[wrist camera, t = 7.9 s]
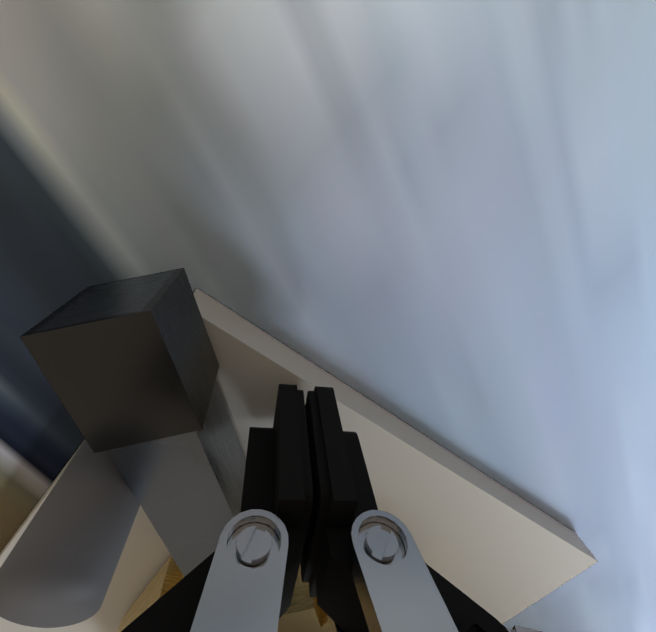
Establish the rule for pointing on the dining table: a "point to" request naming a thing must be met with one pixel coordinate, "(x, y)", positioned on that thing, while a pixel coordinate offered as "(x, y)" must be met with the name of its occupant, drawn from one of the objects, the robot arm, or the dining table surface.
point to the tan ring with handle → (156, 417)
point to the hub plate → (245, 411)
